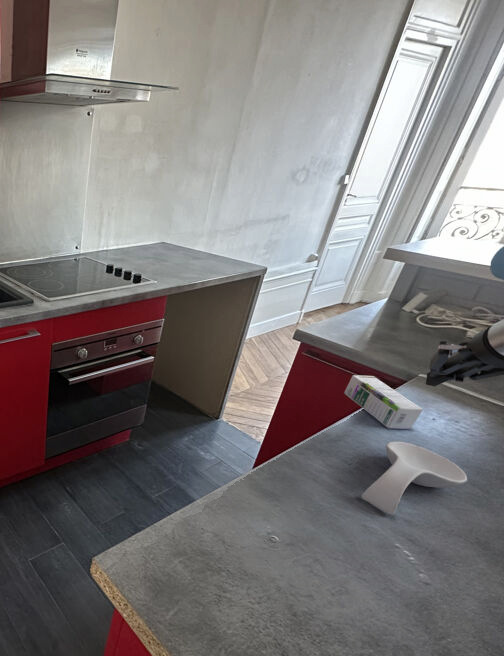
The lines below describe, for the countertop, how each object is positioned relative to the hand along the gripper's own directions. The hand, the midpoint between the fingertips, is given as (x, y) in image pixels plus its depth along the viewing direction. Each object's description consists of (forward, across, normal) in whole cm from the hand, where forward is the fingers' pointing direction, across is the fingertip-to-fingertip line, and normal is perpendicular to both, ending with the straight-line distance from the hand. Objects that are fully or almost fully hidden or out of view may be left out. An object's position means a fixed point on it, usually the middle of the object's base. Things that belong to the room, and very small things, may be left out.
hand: (430, 379), depth 91 cm
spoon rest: (-10, -6, -27) cm, 29 cm away
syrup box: (+4, -1, -9) cm, 10 cm away
